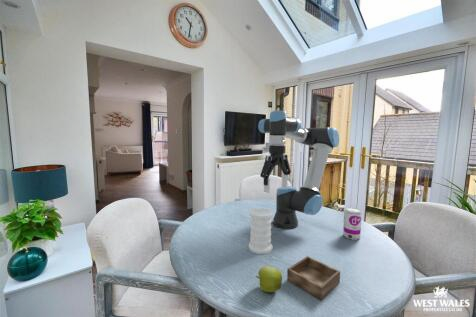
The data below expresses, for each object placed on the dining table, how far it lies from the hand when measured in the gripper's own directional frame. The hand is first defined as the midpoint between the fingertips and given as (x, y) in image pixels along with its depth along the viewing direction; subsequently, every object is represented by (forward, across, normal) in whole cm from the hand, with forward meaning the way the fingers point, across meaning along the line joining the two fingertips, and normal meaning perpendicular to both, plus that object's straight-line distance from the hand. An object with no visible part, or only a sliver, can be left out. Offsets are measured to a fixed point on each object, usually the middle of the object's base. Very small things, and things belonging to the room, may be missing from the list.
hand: (276, 189), depth 103 cm
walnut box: (+29, -9, -25) cm, 39 cm away
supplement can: (+29, +40, -21) cm, 54 cm away
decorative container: (+29, -5, +5) cm, 30 cm away
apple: (+29, -24, -16) cm, 42 cm away
